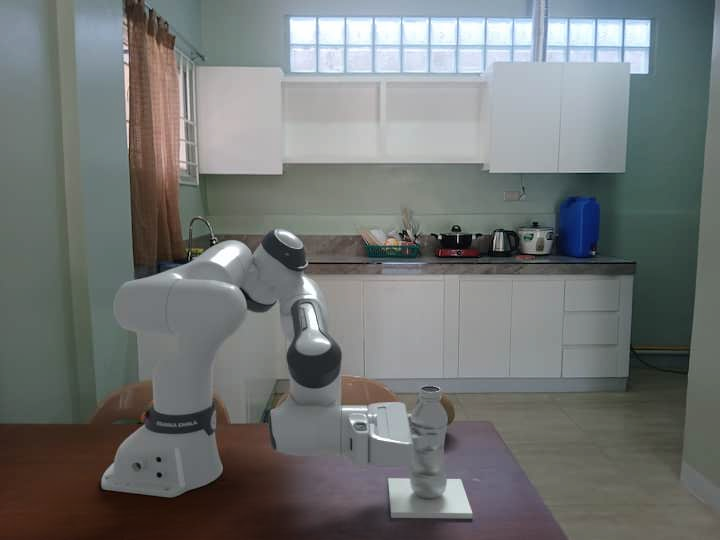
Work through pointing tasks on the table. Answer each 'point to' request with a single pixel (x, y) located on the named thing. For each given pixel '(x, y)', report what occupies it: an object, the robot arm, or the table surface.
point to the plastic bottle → (430, 459)
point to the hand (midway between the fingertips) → (434, 430)
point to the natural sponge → (446, 407)
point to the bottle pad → (428, 501)
